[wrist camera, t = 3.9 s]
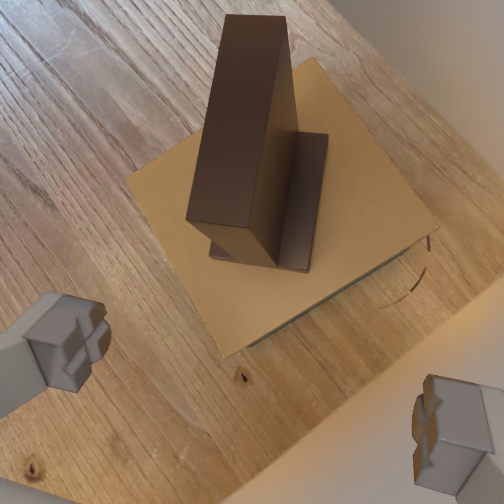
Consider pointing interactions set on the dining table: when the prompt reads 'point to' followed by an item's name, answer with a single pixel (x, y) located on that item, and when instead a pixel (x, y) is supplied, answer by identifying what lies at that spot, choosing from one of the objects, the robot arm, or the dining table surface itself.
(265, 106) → the brown upright sign stand
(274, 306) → the toy box
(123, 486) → the dining table surface
